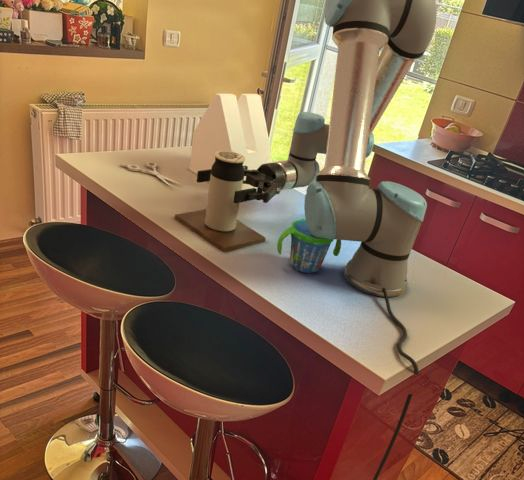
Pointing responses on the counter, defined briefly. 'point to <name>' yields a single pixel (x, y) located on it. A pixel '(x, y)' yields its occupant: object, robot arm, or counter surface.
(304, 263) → the snack cup
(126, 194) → the counter surface
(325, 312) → the counter surface
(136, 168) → the scissors
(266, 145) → the white slotted tapered block
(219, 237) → the walnut board
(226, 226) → the travel mug
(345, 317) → the counter surface
